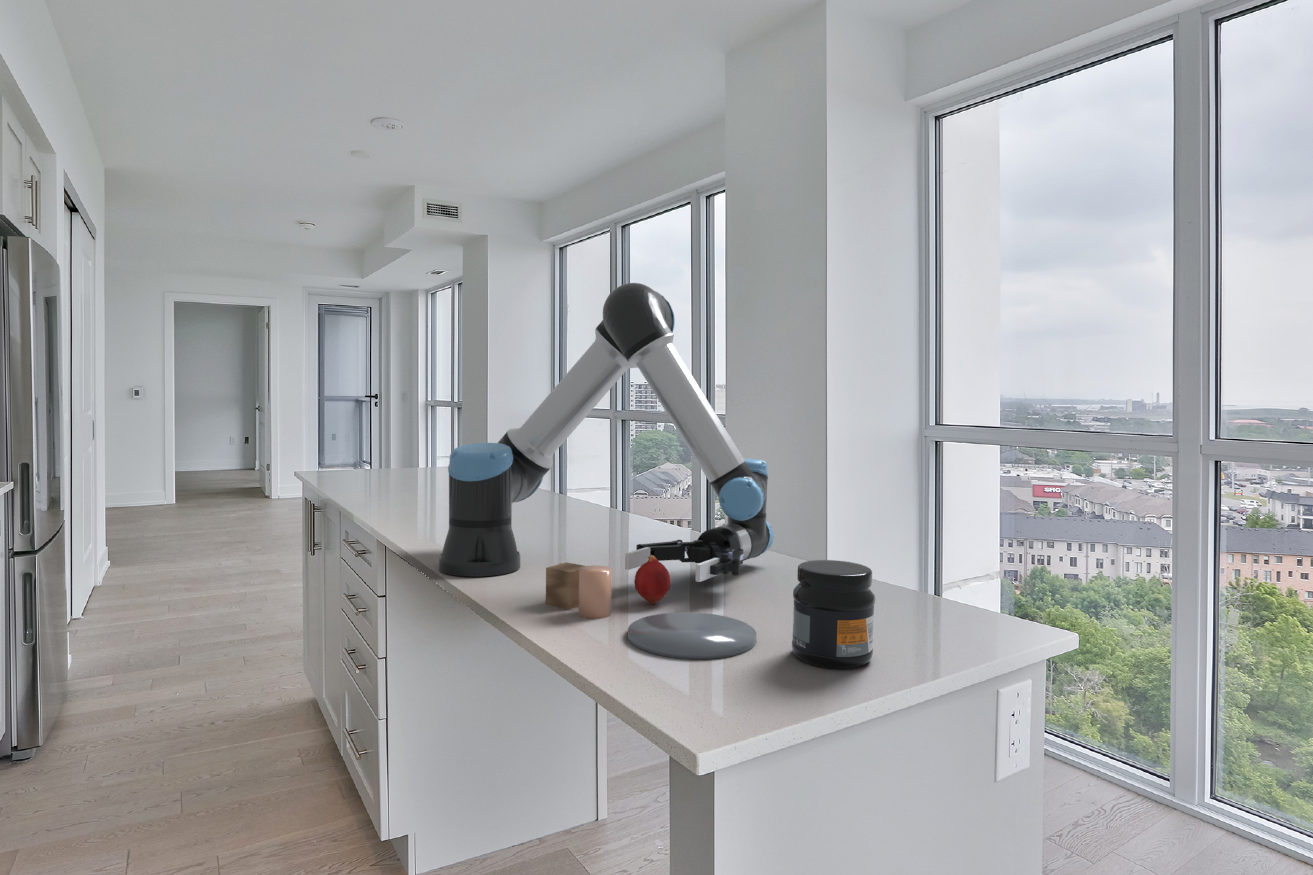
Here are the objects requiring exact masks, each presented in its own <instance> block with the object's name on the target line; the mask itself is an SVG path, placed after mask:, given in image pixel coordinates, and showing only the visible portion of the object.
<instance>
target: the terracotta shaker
mask: <svg viewBox="0 0 1313 875" xmlns="http://www.w3.org/2000/svg"><path fill="white" fill-rule="evenodd" d="M612 575H613V574H612V568H611V567H609V566H606V565H584V567H581V568H579V601H578V607H577V608H578V609H577V610H578V612H577V614H578V616H579V617H582V618H585V619H593V620H594V619H596V620H597V619H599V620H600V619H605V618H608V617H610V616H611V615H612Z"/></svg>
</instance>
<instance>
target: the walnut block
mask: <svg viewBox="0 0 1313 875" xmlns="http://www.w3.org/2000/svg"><path fill="white" fill-rule="evenodd" d="M584 566H585V565H583V564H577V563H574V562H573V563H572V562H562V563H559V564H555V565H550V566H547V567H545V605H546V606H551V607H556V608H560V609H565V610H568V611H570V610H573V609H576V608H578V601H579V568H581V567H584Z"/></svg>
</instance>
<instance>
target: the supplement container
mask: <svg viewBox="0 0 1313 875" xmlns="http://www.w3.org/2000/svg"><path fill="white" fill-rule="evenodd" d="M796 577H797V581H798V584H797V585H796V586H795V587H794V588H793V590H792V598H793V609H792V610H793V611H792V613H793V614H792V618H793V619H792V640H791V649H792V652H793V654H794V655H795V656H796V657H797V658H798V659H799V660H801V661H803V662H805V663H807V664H810V665H812V666H816V667H819V668H827V669H836V670H837V669H838V670H846V669H854V668H855V667H856V668H859V667H861V666H864V665H865V664H866V665H867V663H869V662H870V661H871V659H872V658H873V654H874V648H873V644H874V641H873V640H874V617H875V604H876V596H875V594H874V592H873V590H872V589H871V588H870V587H872V585H873V570H872V569H871V568H870V567H868V566H866V565H863V564H860V563H856V562H851V561H846V560H835V559H834V560H833V559H815V560H814V559H813V560H807V561H804V562H801V563H799V564H798V565H797V576H796ZM856 668H855V669H856Z"/></svg>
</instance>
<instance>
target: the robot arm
mask: <svg viewBox="0 0 1313 875" xmlns="http://www.w3.org/2000/svg"><path fill="white" fill-rule="evenodd" d="M675 320H676V319H675V314H674V311H673V308H672V305H671V304H670V302H669V301H668V300H667V299H666V298H665V296H664V295H662V294H661V293H660V292H658V291H656V290H654V289H653V288H651V287H649V286H648V285H645V284H643V283H639V282H629V283H623V284H622V285H619V286H618V287H616V288H615V289H613V290H612V291H611V292H610V293H609V295H608V296H607V297H606V300H605V301H604V304H603V308H602V320H601V321H600V322H599V324H598V325H597V326H596V327H595V328H594V329H595V332H594V333H595V340H594V341H593V342H592V344H591V345H590V346H589V347H588V348H587V350H585V352H584V353H583V354H582V355H581V357H580V358H578V360H577V361H576V363H575V364H574V365H573V366H572V367H571V368H570V369H569V370H568V372H566V374H565V375H564V376H563V378H562V379H561V380H560V381H558V383H557V384H556V386H555V387H553V389H552V391H551V392H550V393H549V394H548V395H546V397H545V399H543V401H542V402H541V403H540V404H539V405H538V407H537V408H535V410H534V411H533V413H531V414H530V416H529V417H528V418H527V420H526V421H525V422H524V423H523V424H522V425H521V427H519V428H510V429H508V430H507V431H506V433H505V434H504V435H503V436H502V437H501V438H500V439H499V440H498V442H475V443H471V444H463V445H460V446H457V447H455V448H454V449H453V450H451V453H450V455H449V464H448V466H447V471H448V531H447V534H446V537H445V540H444V544H443V548H442V552H441V553H440V555H439V557H438V558H439V559H438V571H440V572H441V573H444V574H447V575H452V576H457V577H458V576H459V577H491V576H500V575H506V574H510V573H513V572H516V571H518V570H519V569H520V568H521V554H520V551H518V547H517V541H516V539H515V535H514V532H513V528H512V526H513V525H512V524H513V523H512V514H513V513H512V512H513V511H512V510H513V509H512V508H513V506H512V505H513V504H514V503H518V502H522V501H524V500H526V499H527V498H530V497H532V495H533V494H534V493H536V492H537V490H538V489H539V488H540V486H541V484H542V482H543V479H544V477H545V475H546V474H547V473H548V472H549V471H550V469H552V467H553V466H554V463H553V462H554V461H553V455H554V454H555V453H556V452H557V450H559V448H560V447H561V446H562V445H563V443H564V442H565V441H566V440H567V439H568V438H569V437H570V436H571V434H572V433H573V432H574V431H575V430H576V429H577V428H578V426H579V425H580V424H581V423H583V421H584V420H585V418H586V417H587V416H588V415H589V414H590V413H591V412H592V410H593V409H594V408H595V407H596V406H597V405H598V404H599V402H600V401H601V400H602V399H603V398H604V397H605V396H606V394H607V393H608V392H609V391H610V390H611V389H612V387H613V386H614V385H615V384H616V383H617V382H618V381H619V380H620V379H621V377H622V376H623V375H624V374H625V373H626V372H627V370H628V369H629V370H630V369H636V368H638V370H639V371H640V373H641V375H642V376H643V377H644V379H645V381H646V382H647V384H648V386H649V387H650V389H651V391H652V392H653V394H654V395H655V396H656V399H657V400H658V402H659V403H660V405H661V406H662V408H663V409H664V411H665V412H666V414H667V416H668V418H669V419H670V421H671V423H672V424H673V426H674V427H675V429H676V430H677V432H678V434H679V435H680V437H681V439H682V440H683V442H684V443H685V445H686V447H687V448H688V450H689V451H690V453H691V455H692V456H693V459H694V460H695V461H696V463H697V464H698V466H699V467H700V469H701V471H702V472H703V474H704V476H705V477H706V479H707V481H708V482H709V484H710V486H711V487H712V490H713V491H714V493H715V494H716V495H717V497H718V503H719V506H720V508H721V510H722V512H723V513H724V515H726V516H727V522H726V523H727V524H723V525H719V526H717V527H714V528H710V529H706V530H705V531H703V532H702V533H701V534H700V535H699V536H698V538H697V539H695V540H693V541H683V540H682V539H676V540H672V541H663V542H652V543H651V542H649V543H637V544H636V549H635V550H632V551H628V552H625V553H624V555H625V557H624V558H625V560H624V561H625V564H624V569H625V570H627V571H630V570H633V569H637V568H640V567H641V566H642V565H643V564H644V563H646V562H647V561H648V560H649V558H648V557H649V556H651V555H652V556H654V557H655V558H656V559H657V560H658V561H659V562H661V561H662V562H663V561H664V562H665V561H679V562H681V563H695V582H698V583H700V582H704V581H706V580H708V579H712V578H714V577H716V576H718V575H727V574H728V573H729V572H731V575H733V576H739V575H740V567H741V566H740V565H743V564H744V561H747V560H750V559H754V558H755V559H756V558H757V557H759V556H761V555H763V554H764V553H766V552H767V551H768V550H769V549H770V548H771V547H772V545H773V542H774V537H775V534H774V531H773V528H772V526H771V524H770V522H768V521H767V499H768V498H767V497H768V496H767V495H768V479H769V475H768V463H767V462H766V461H765V460H763V459H756V458H744V457H743V455H742V454H741V452H740V450H739V448H737V445H736V444H735V443H734V441H733V439H732V438H731V436H730V434H729V433H728V431H727V430H726V428H725V427H724V424H723V423H722V421H721V420H720V417H718V415H717V413H716V412H715V410H714V407H712V405H711V403H710V402H709V401H708V398H707V397H706V395H705V393H704V392H703V391H702V389H701V387H700V385H698V383H697V381H696V379H695V377H694V376H693V374H692V373H691V371H690V370H689V368H688V366H687V365H686V363H685V362H684V360H683V358H682V357H681V355H680V353H679V352H678V350H677V349H676V347H675V346H674V344H673V341H674V336H675V335H674V330H675V322H676V321H675ZM686 556H687V557H686Z"/></svg>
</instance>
